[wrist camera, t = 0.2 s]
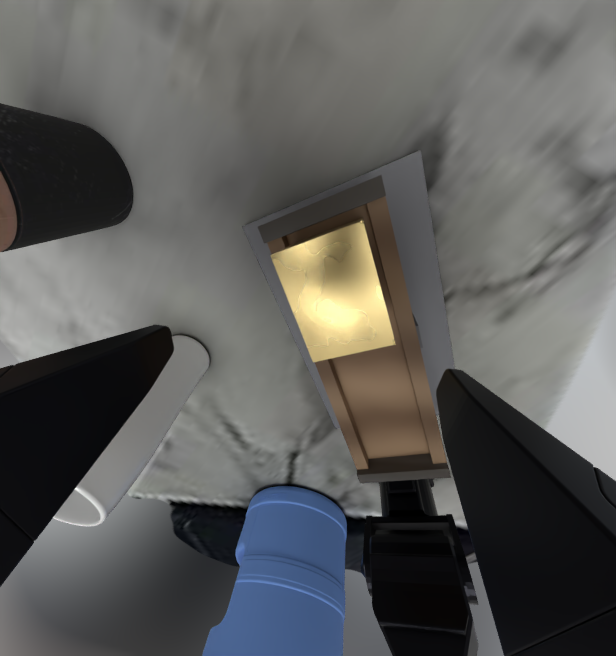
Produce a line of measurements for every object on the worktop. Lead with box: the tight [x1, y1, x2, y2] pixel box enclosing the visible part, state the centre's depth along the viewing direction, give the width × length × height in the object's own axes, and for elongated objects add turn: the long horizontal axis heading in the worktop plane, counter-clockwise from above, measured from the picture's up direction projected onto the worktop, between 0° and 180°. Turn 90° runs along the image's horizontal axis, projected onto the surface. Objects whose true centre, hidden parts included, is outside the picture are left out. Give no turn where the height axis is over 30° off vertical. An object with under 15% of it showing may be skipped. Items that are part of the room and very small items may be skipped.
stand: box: [242, 150, 455, 428], centre depth 22 cm, size 23×13×4 cm, turn 22°
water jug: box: [202, 486, 347, 656], centre depth 29 cm, size 16×16×28 cm
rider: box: [270, 218, 396, 362], centre depth 15 cm, size 6×4×5 cm
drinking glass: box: [53, 335, 210, 526], centre depth 22 cm, size 7×7×15 cm
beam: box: [258, 175, 451, 483], centre depth 19 cm, size 22×7×2 cm, turn 22°
